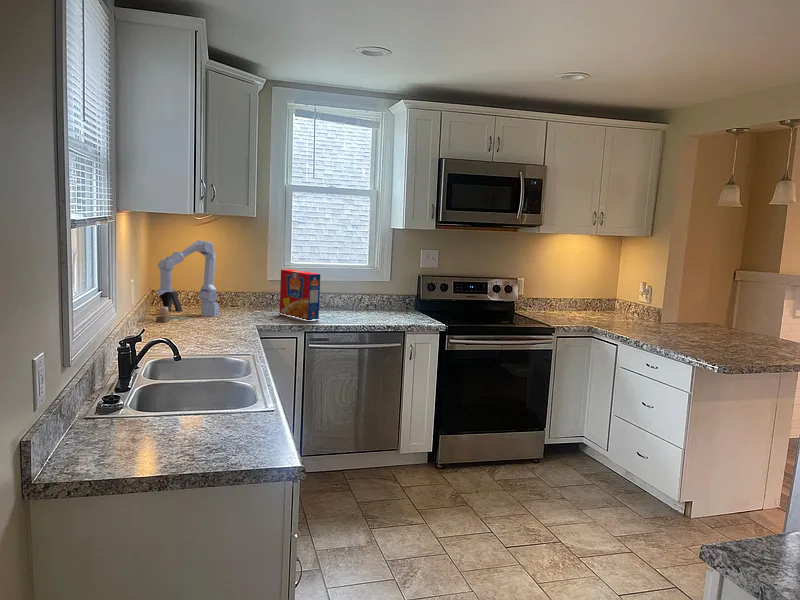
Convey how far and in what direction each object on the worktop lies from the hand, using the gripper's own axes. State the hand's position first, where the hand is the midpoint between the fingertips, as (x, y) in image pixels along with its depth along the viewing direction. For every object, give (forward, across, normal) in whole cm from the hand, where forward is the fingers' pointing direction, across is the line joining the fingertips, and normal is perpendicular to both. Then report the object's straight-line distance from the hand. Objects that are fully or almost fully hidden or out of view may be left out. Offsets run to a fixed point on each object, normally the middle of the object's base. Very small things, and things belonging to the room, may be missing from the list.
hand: (165, 306), depth 326 cm
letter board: (+8, -7, +2) cm, 11 cm away
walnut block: (+8, +5, +1) cm, 10 cm away
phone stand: (+9, -31, -11) cm, 34 cm away
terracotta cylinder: (+8, -16, -9) cm, 20 cm away
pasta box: (+9, -44, +62) cm, 76 cm away
